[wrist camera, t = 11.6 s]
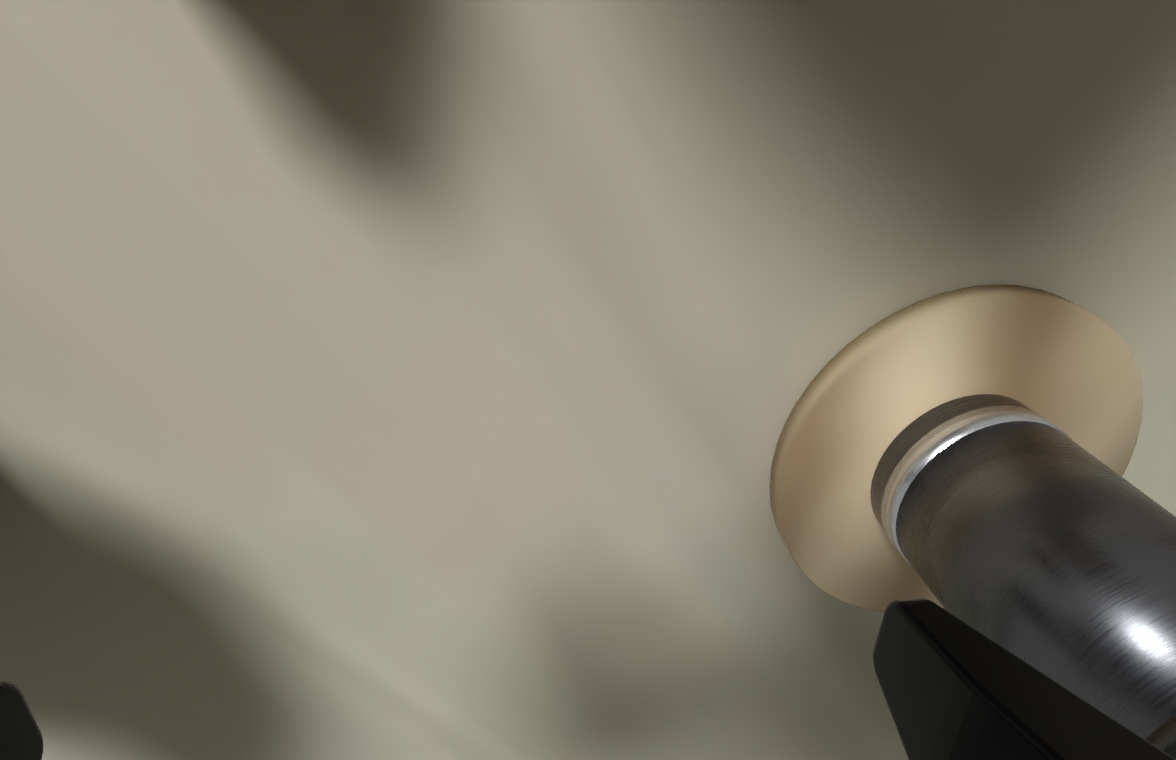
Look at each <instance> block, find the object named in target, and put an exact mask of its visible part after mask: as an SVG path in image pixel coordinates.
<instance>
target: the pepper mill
mask: <svg viewBox="0 0 1176 760" xmlns="http://www.w3.org/2000/svg"><path fill="white" fill-rule="evenodd" d="M870 495H871V505H872V510H873V512H874V515H875V517H876V519H877V521H878V522H879V524H880V525H881V527H882V528H883V529H884V531H885V532H886V535H887V536H888V538H889V539H890V541H891V542H892V544H893V545H894V546H895V547H896V549H897V550H898V551H899V553H900V554H901V555H902V557H903V558H904V559H905V560H906V561H907V562H908V563H909V564H910V565H911V566H912V567H913V568H914V570H915V571H916V572H917V573H918V575H919V576H920V577H921V579H922V580H923V581H924V583H925V584H926V585H927V586H928V588H929V589H930V590H931V592H932V593H933V594H934V596H935V597H936V598H937V600H938V601H939V602H940V603H941V605H942V606H943V607H944V609H945V610H947V611H948V612H950V613H951V614H953V615H954V616H956V617H957V618H959V619H960V620H962V621H963V622H965V623H967V624H968V625H970V626H971V627H973V628H974V629H976V630H977V631H979V632H980V633H982V634H983V635H985V636H987V637H988V638H990V639H991V640H993V641H994V642H996V643H997V644H999V645H1000V646H1002V647H1003V648H1005V649H1007V650H1008V651H1010V652H1011V653H1013V654H1014V655H1016V656H1017V657H1019V658H1020V659H1022V660H1024V661H1025V662H1027V663H1028V664H1030V665H1031V666H1033V667H1034V668H1036V669H1037V670H1039V671H1040V672H1042V673H1044V674H1045V675H1047V676H1048V677H1050V678H1051V679H1053V680H1054V681H1056V682H1057V683H1059V684H1060V685H1062V686H1064V687H1065V688H1067V689H1068V690H1070V691H1071V692H1073V693H1074V694H1076V695H1077V696H1079V697H1080V698H1082V699H1084V700H1085V701H1087V702H1088V703H1090V704H1091V705H1093V706H1094V707H1096V708H1097V709H1099V710H1100V711H1102V712H1104V713H1105V714H1107V715H1108V716H1110V717H1111V718H1113V719H1114V720H1116V721H1117V722H1119V723H1120V724H1122V725H1124V726H1125V727H1127V728H1128V729H1130V730H1131V731H1133V732H1134V733H1136V734H1137V735H1139V736H1140V737H1142V738H1144V739H1145V740H1147V741H1148V742H1150V743H1151V744H1153V745H1154V746H1156V747H1157V748H1159V749H1161V750H1162V751H1164V752H1165V753H1167V754H1168V755H1170V756H1171V757H1173V758H1174V759H1176V517H1175V516H1174V515H1172V514H1171V513H1170V512H1168V511H1167V510H1166V509H1164V508H1163V507H1162V506H1160V505H1159V504H1158V503H1156V502H1155V501H1154V500H1152V499H1151V498H1149V497H1148V496H1147V495H1145V494H1144V493H1143V492H1141V491H1140V490H1139V489H1137V488H1136V487H1135V486H1133V485H1132V484H1131V483H1129V482H1128V481H1127V480H1125V479H1124V478H1123V477H1121V476H1120V475H1119V474H1117V473H1116V472H1114V471H1113V470H1112V469H1110V468H1109V467H1108V466H1106V465H1105V464H1104V463H1102V462H1101V461H1100V460H1098V459H1097V458H1096V457H1094V456H1093V455H1092V454H1090V453H1089V452H1088V451H1086V450H1085V449H1084V448H1082V447H1081V446H1080V445H1078V444H1077V443H1075V442H1074V441H1073V440H1072V439H1071V438H1070V437H1069V436H1068V435H1067V434H1066V433H1065V432H1064V431H1062V430H1061V429H1060V428H1058V427H1057V426H1056V425H1054V424H1053V423H1052V422H1050V421H1049V420H1047V419H1046V418H1045V417H1043V416H1042V415H1040V414H1039V413H1036V412H1034V411H1032V410H1031V409H1030V408H1028V407H1027V406H1025V405H1024V404H1022V403H1021V402H1019V401H1017V400H1015V399H1012V398H1010V397H1006V396H1002V395H994V394H977V395H971V396H965V397H961V398H957V399H954V400H951V401H948V402H946V403H943V404H941V405H939V406H937V407H935V408H933V409H931V410H929V411H928V412H926V413H924V414H923V415H921V416H919V417H918V418H917V419H916V420H914V421H913V422H912V423H910V424H909V425H908V426H907V427H906V428H905V429H904V430H902V431H901V432H900V433H899V434H898V435H897V437H896V438H895V439H894V440H893V441H892V442H891V443H890V445H889V446H888V448H887V449H886V450H885V452H884V453H883V455H882V457H881V459H880V461H879V462H878V465H877V467H876V470H875V472H874V475H873V479H872V483H871V491H870Z"/></svg>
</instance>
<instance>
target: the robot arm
mask: <svg viewBox="0 0 1176 760" xmlns="http://www.w3.org/2000/svg"><path fill="white" fill-rule="evenodd" d="M873 661H874V668H875V672H876V675H877V678H878V680H879V683H880V686H881V688H882V691H883V693H884V696H885V699H886V701H887V704H888V707H889V709H890V712H891V714H892V717H893V720H894V722H895V725H896V727H897V730H898V733H899V735H900V738H901V741H902V743H903V746H904V748H905V751H906V754H907V756H908V759H909V760H1176V759H1174V758H1173V757H1171V756H1170V755H1168V754H1167V753H1165V752H1164V751H1162V750H1161V749H1159V748H1157V747H1156V746H1154V745H1153V744H1151V743H1150V742H1148V741H1147V740H1145V739H1144V738H1142V737H1140V736H1139V735H1137V734H1136V733H1134V732H1133V731H1131V730H1130V729H1128V728H1127V727H1125V726H1124V725H1122V724H1120V723H1119V722H1117V721H1116V720H1114V719H1113V718H1111V717H1110V716H1108V715H1107V714H1105V713H1104V712H1102V711H1100V710H1099V709H1097V708H1096V707H1094V706H1093V705H1091V704H1090V703H1088V702H1087V701H1085V700H1084V699H1082V698H1080V697H1079V696H1077V695H1076V694H1074V693H1073V692H1071V691H1070V690H1068V689H1067V688H1065V687H1064V686H1062V685H1060V684H1059V683H1057V682H1056V681H1054V680H1053V679H1051V678H1050V677H1048V676H1047V675H1045V674H1044V673H1042V672H1040V671H1039V670H1037V669H1036V668H1034V667H1033V666H1031V665H1030V664H1028V663H1027V662H1025V661H1024V660H1022V659H1020V658H1019V657H1017V656H1016V655H1014V654H1013V653H1011V652H1010V651H1008V650H1007V649H1005V648H1003V647H1002V646H1000V645H999V644H997V643H996V642H994V641H993V640H991V639H990V638H988V637H987V636H985V635H983V634H982V633H980V632H979V631H977V630H976V629H974V628H973V627H971V626H970V625H968V624H967V623H965V622H963V621H962V620H960V619H959V618H957V617H956V616H954V615H953V614H951V613H950V612H948V611H947V610H945V609H943V608H942V607H940V606H939V605H937V604H936V603H934V602H932V601H930V600H928V599H925V598H912V599H901V600H894V601H891V602H890V603H889V604H888V605H887V607H886V609H885V612H884V616H883V619H882V623H881V626H880V630H879V633H878V637H877V640H876V644H875V648H874V653H873ZM42 754H43V739H42V734H41V732H40V729H39V727H38V725H37V723H36V721H35V719H34V717H33V715H32V713H31V711H30V709H29V707H28V705H27V703H26V701H25V699H24V697H23V695H22V693H21V691H20V689H19V688H18V686H16V685H14V684H13V683H11V682H6V681H3V682H0V760H41V759H42Z"/></svg>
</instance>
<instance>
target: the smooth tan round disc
mask: <svg viewBox="0 0 1176 760" xmlns="http://www.w3.org/2000/svg"><path fill="white" fill-rule="evenodd" d="M977 394H994V395H1002V396H1006V397H1010V398H1012V399H1015V400H1017V401H1019V402H1021V403H1022V404H1024V405H1025V406H1027V407H1028V408H1030V409H1031V410H1032V411H1034V412H1036V413H1039V414H1040V415H1042V416H1043V417H1045V418H1046V419H1047V420H1049V421H1050V422H1052V423H1053V424H1054V425H1056V426H1057V427H1058V428H1060V429H1061V430H1062V431H1064V432H1065V433H1066V434H1067V435H1068V436H1069V437H1070V438H1071V439H1072V440H1073V441H1074V442H1075V443H1077V444H1078V445H1080V446H1081V447H1082V448H1084V449H1085V450H1086V451H1088V452H1089V453H1090V454H1092V455H1093V456H1094V457H1096V458H1097V459H1098V460H1100V461H1101V462H1102V463H1104V464H1105V465H1106V466H1108V467H1109V468H1110V469H1112V470H1113V471H1114V472H1116V473H1117V474H1119V475H1120V476H1121V477H1122V476H1123V474H1124V472H1125V470H1126V468H1127V466H1128V464H1129V462H1130V459H1131V456H1132V453H1133V451H1134V448H1135V445H1136V442H1137V439H1138V434H1139V430H1140V425H1141V420H1142V408H1143V395H1142V383H1141V379H1140V375H1139V371H1138V367H1137V364H1136V362H1135V360H1134V358H1133V356H1132V354H1131V352H1130V349H1129V347H1128V346H1127V345H1126V343H1125V342H1124V341H1123V340H1122V338H1121V337H1120V336H1119V334H1118V333H1117V332H1116V331H1115V330H1114V329H1113V328H1111V327H1110V326H1109V325H1108V324H1107V323H1106V322H1105V321H1103V320H1102V319H1101V318H1099V317H1097V316H1095V315H1094V314H1092V313H1090V312H1088V311H1087V310H1085V309H1083V308H1081V307H1079V306H1077V305H1075V304H1073V303H1071V302H1069V301H1068V300H1066V299H1064V298H1062V297H1060V296H1057V295H1054V294H1051V293H1049V292H1046V291H1043V290H1040V289H1035V288H1029V287H1024V286H1018V285H986V286H976V287H968V288H963V289H959V290H954V291H950V292H946V293H942V294H939V295H936V296H933V297H931V298H928V299H925V300H922V301H919V302H917V303H915V304H912V305H910V306H908V307H906V308H904V309H902V310H900V311H898V312H896V313H893V314H892V315H890V316H888V317H887V318H885V319H884V320H882V321H880V322H879V323H877V324H875V325H874V326H872V327H870V328H869V329H868V330H866V331H865V332H864V333H862V334H861V335H860V336H858V337H857V338H856V339H854V340H853V341H852V342H850V343H849V344H848V345H847V346H846V347H844V348H843V349H842V350H841V351H840V352H839V353H838V354H837V355H836V356H835V357H834V358H833V359H832V360H831V361H829V362H828V363H827V364H826V366H825V367H824V368H823V369H822V370H821V371H820V373H819V374H818V375H817V376H816V377H815V378H814V379H813V381H812V382H811V383H810V384H809V386H808V387H807V389H806V390H805V391H804V393H803V394H802V396H801V397H800V399H799V400H798V402H797V403H796V404H795V406H794V408H793V410H792V412H791V414H790V416H789V418H788V419H787V421H786V423H785V425H784V428H783V430H782V433H781V435H780V438H779V441H778V443H777V446H776V450H775V454H774V458H773V462H772V467H771V477H770V500H771V508H772V512H773V516H774V520H775V524H776V526H777V528H778V531H779V533H780V535H781V537H782V539H783V541H784V543H785V545H786V546H787V548H788V550H789V552H790V554H791V555H792V557H793V559H794V560H795V562H796V563H797V565H798V566H799V568H800V569H801V571H802V572H803V573H804V574H805V575H806V576H807V577H808V578H809V579H810V580H811V581H812V582H813V583H814V584H815V585H816V586H817V587H819V588H820V589H822V590H823V591H824V592H826V593H827V594H829V595H831V596H833V597H835V598H837V599H839V600H841V601H843V602H845V603H848V604H851V605H854V606H857V607H860V608H865V609H870V610H876V611H883V612H885V609H886V607H887V605H888V604H889V603H890V602H891V601H894V600H901V599H912V598H925V599H928V600H930V601H932V602H934V603H936V604H937V605H939V606H940V607H942V608H944V607H943V606H942V605H941V603H940V602H939V601H938V600H937V598H936V597H935V596H934V594H933V593H932V592H931V590H930V589H929V588H928V586H927V585H926V584H925V583H924V581H923V580H922V579H921V577H920V576H919V575H918V573H917V572H916V571H915V570H914V568H913V567H912V566H911V565H910V564H909V563H908V562H907V561H906V560H905V559H904V558H903V557H902V555H901V554H900V553H899V551H898V550H897V549H896V547H895V546H894V545H893V544H892V542H891V541H890V539H889V538H888V536H887V535H886V532H885V531H884V529H883V528H882V527H881V525H880V524H879V522H878V521H877V519H876V517H875V515H874V512H873V510H872V505H871V495H870V491H871V483H872V479H873V475H874V472H875V470H876V467H877V465H878V462H879V461H880V459H881V457H882V455H883V453H884V452H885V450H886V449H887V448H888V446H889V445H890V443H891V442H892V441H893V440H894V439H895V438H896V437H897V435H898V434H899V433H900V432H901V431H902V430H904V429H905V428H906V427H907V426H908V425H909V424H910V423H912V422H913V421H914V420H916V419H917V418H918V417H919V416H921V415H923V414H924V413H926V412H928V411H929V410H931V409H933V408H935V407H937V406H939V405H941V404H943V403H946V402H948V401H951V400H954V399H957V398H961V397H965V396H971V395H977Z"/></svg>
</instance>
